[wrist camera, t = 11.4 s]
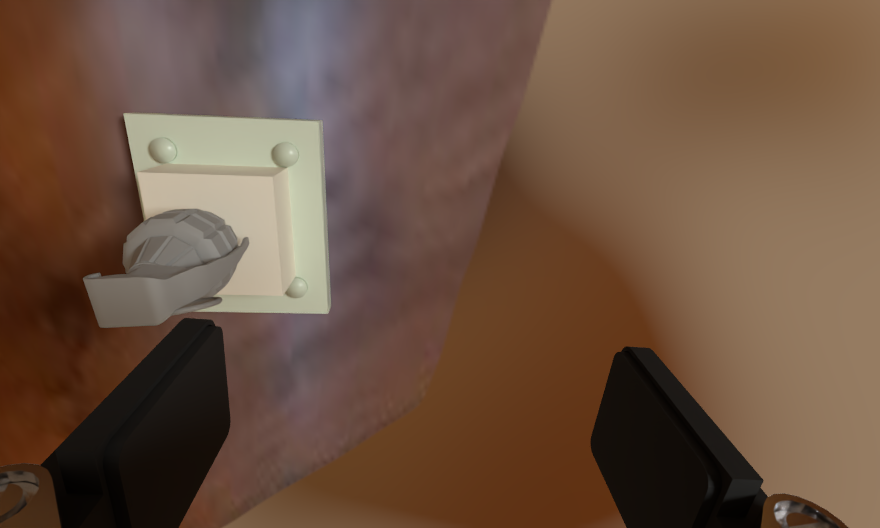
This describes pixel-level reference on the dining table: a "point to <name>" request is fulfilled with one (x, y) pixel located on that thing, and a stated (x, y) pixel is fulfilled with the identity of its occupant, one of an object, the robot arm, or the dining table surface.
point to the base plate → (253, 146)
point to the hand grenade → (167, 269)
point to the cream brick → (234, 215)
